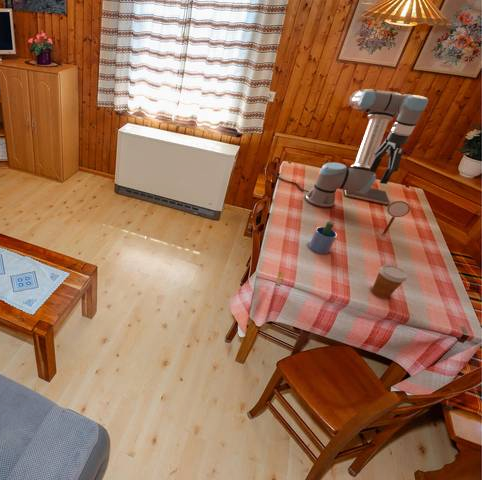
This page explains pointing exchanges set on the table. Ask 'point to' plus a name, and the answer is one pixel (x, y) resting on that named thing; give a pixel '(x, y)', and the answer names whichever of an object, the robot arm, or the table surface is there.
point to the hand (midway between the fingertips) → (377, 177)
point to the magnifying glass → (396, 211)
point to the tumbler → (322, 241)
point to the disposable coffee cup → (388, 280)
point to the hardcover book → (370, 196)
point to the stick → (328, 228)
